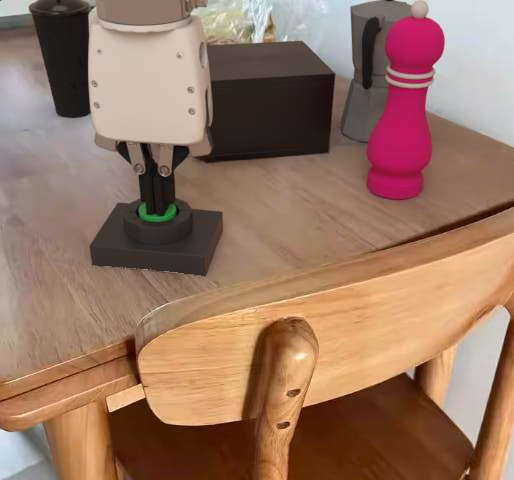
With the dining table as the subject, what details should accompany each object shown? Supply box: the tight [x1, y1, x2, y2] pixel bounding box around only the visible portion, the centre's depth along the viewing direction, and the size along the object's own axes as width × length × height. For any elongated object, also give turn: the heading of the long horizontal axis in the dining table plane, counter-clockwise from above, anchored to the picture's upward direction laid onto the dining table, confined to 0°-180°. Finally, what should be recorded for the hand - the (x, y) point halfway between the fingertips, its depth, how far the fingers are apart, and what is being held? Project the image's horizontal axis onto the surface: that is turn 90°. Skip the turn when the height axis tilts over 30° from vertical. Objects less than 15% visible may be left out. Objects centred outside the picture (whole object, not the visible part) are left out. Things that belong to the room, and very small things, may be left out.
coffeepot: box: [339, 0, 412, 144], centre depth 91 cm, size 15×9×18 cm, turn 158°
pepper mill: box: [365, 0, 446, 200], centre depth 78 cm, size 7×7×20 cm
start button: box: [139, 203, 177, 222], centre depth 70 cm, size 4×4×2 cm
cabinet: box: [201, 40, 336, 164], centre depth 92 cm, size 16×14×10 cm
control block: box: [89, 197, 224, 277], centre depth 71 cm, size 11×9×4 cm
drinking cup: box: [28, 0, 91, 118], centre depth 95 cm, size 8×8×20 cm
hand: (158, 208), depth 70 cm, fingers closed
